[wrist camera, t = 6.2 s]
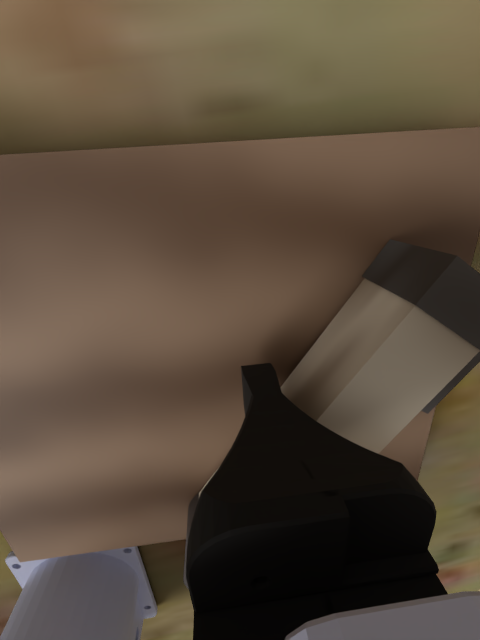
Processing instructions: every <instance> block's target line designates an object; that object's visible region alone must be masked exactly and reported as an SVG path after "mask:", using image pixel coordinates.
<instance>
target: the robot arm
mask: <svg viewBox="0 0 480 640" xmlns="http://www.w3.org/2000/svg"><path fill="white" fill-rule="evenodd" d="M241 374H242V388H243V401H244V411H245V419H244V421H243V424H242V426H241V429H240V431H239V433H238V435H237V437H236V439H235V441H234V443H233V445H232V447H231V449H230V450H229V452H228V454H227V455H226V457H225V459H224V460H223V462H222V464H221V465H220V467H219V468H218V470H217V471H216V473H215V474H214V475H213V477H212V478H211V479H210V481H209V482H208V483H207V485H206V486H205V487H204V489H203V490H202V491H201V494H200V497H199V500H198V503H197V506H196V509H195V513H194V516H193V520H192V524H191V528H190V533H189V538H188V544H187V560H186V579H187V583H188V588H189V592H190V596H191V600H192V604H193V609H194V630H193V640H480V591H476V592H459V593H453V594H448V593H447V592H446V590H445V588H444V587H443V585H442V583H441V582H440V580H439V578H438V577H437V575H436V574H437V573H438V571H439V569H438V566H437V564H436V562H435V560H434V559H433V557H432V556H431V554H430V552H429V551H428V545H429V542H430V539H431V536H432V532H433V529H434V526H435V520H436V509H435V506H434V503H433V502H432V500H431V499H430V498H429V496H428V495H427V494H426V492H425V491H424V489H423V488H422V487H421V485H420V484H419V483H418V481H417V480H416V479H415V478H414V477H413V475H412V474H411V473H410V472H409V471H408V470H407V469H406V467H405V466H404V465H403V464H402V463H400V462H398V461H395V460H393V459H390V458H388V457H385V456H383V455H380V454H378V453H375V452H373V451H370V450H368V449H366V448H364V447H362V446H360V445H358V444H356V443H353V442H351V441H349V440H347V439H346V438H344V437H342V436H340V435H338V434H336V433H335V432H333V431H331V430H330V429H328V428H326V427H325V426H323V425H321V424H320V423H318V422H317V421H315V420H314V419H312V418H311V417H310V416H308V415H307V414H306V413H304V412H303V411H302V410H301V409H299V408H298V407H297V406H296V405H295V404H293V403H292V402H291V401H290V400H289V399H288V398H287V397H286V396H285V395H284V394H283V393H282V391H281V388H280V384H279V381H278V377H277V374H276V371H275V369H274V367H273V366H272V364H271V363H264V364H255V365H245V366H241ZM5 561H6V563H7V565H8V567H9V568H10V570H11V571H12V573H13V574H14V576H15V578H16V579H17V581H18V582H19V584H20V585H21V587H22V588H23V590H22V592H21V594H20V596H19V599H18V601H17V603H16V605H15V607H14V609H13V611H12V613H11V615H10V618H9V620H8V622H7V624H6V626H5V628H4V630H3V632H2V634H1V636H0V640H140V638H141V631H142V625H143V619H145V618H151V617H154V616H156V614H157V605H156V602H155V599H154V596H153V593H152V590H151V587H150V583H149V580H148V577H147V574H146V571H145V568H144V565H143V562H142V559H141V556H140V553H139V550H138V547H137V546H134V547H127V548H120V549H112V550H105V551H98V552H91V553H84V554H77V555H69V556H62V557H55V558H48V559H41V560H34V561H26V562H19V560H18V559H17V557H16V555H15V554H14V552H13V551H12V552H10V553H9V554H8V556H7V558H6V560H5Z"/></svg>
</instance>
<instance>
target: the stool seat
mask: <svg viewBox="0 0 480 640" xmlns="http://www.w3.org/2000/svg"><path fill="white" fill-rule="evenodd" d="M479 232H480V127H469V128H452V129H435V130H417V131H400V132H383V133H366V134H349V135H331V136H314V137H297V138H280V139H263V140H245V141H228V142H211V143H194V144H177V145H159V146H142V147H125V148H108V149H91V150H73V151H56V152H39V153H22V154H5V155H0V531H1V532H2V534H3V536H4V537H5V539H6V541H7V542H8V544H9V545H10V547H11V549H12V550H13V552H14V554H15V555H16V557H17V559H18V560H19V562H26V561H34V560H41V559H48V558H55V557H62V556H69V555H77V554H84V553H91V552H98V551H105V550H112V549H120V548H127V547H134V546H141V545H148V544H155V543H163V542H170V541H177V540H184V539H186V533H187V519H188V507H189V503H190V501H191V500H192V499H193V497H194V496H196V495H197V494H198V493H199V492H200V491H201V490H202V488H203V487H204V486H205V484H206V483H207V482H208V481H209V479H210V478H211V477H212V475H213V474H214V473H215V471H216V470H217V469H218V468H219V466H220V465H221V464H222V462H223V460H224V459H225V457H226V455H227V454H228V452H229V450H230V449H231V447H232V445H233V443H234V441H235V439H236V437H237V435H238V433H239V431H240V429H241V426H242V424H243V421H244V419H245V411H244V401H243V388H242V374H241V366H245V365H255V364H264V363H271V364H272V366H273V367H274V369H275V371H276V374H277V377H278V381H279V384H280V387H281V386H282V385H283V383H284V382H285V381H286V380H287V378H288V377H289V376H290V374H291V373H292V372H293V370H294V369H295V368H296V367H297V365H298V364H299V363H300V361H301V360H302V359H303V358H304V356H305V355H306V354H307V352H308V351H309V350H310V348H311V347H312V346H313V345H314V343H315V342H316V341H317V339H318V338H319V337H320V336H321V334H322V333H323V332H324V330H325V329H326V328H327V326H328V325H329V324H330V323H331V321H332V320H333V319H334V317H335V316H336V315H337V314H338V312H339V311H340V310H341V308H342V307H343V306H344V304H345V303H346V302H347V301H348V299H349V298H350V297H351V295H352V294H353V293H354V292H355V290H356V289H357V288H358V286H359V285H360V284H361V282H362V281H363V280H364V279H365V278H364V277H362V275H363V274H364V272H365V271H366V270H367V269H368V267H369V266H370V265H371V263H372V262H373V261H374V259H375V258H376V257H377V255H378V254H379V253H380V252H381V250H382V249H383V248H384V246H385V245H386V244H387V242H388V241H389V240H390V239H391V240H395V241H399V242H403V243H408V244H412V245H416V246H420V247H424V248H428V249H432V250H436V251H440V252H444V253H448V254H453V255H457V256H459V257H460V258H461V259H462V260H463V261H465V262H466V263H467V264H468V265H470V266H471V264H472V260H473V256H474V252H475V248H476V244H477V240H478V236H479ZM479 362H480V351H479V352H478V353H477V354H476V355H475V356H474V357H473V358H472V360H471V361H470V362H469V363H468V364H467V365H466V366H465V367H464V368H463V369H462V370H461V371H460V372H459V373H458V374H457V375H456V376H455V377H454V378H453V379H452V380H451V381H450V382H449V383H448V384H447V385H446V386H445V387H444V388H443V389H442V390H441V391H440V392H439V393H438V394H437V395H436V396H435V397H434V398H433V399H432V400H431V401H430V402H429V403H428V404H427V405H426V406H425V407H424V408H423V409H422V410H421V411H420V412H419V413H418V414H417V415H416V416H415V417H414V418H413V419H412V420H411V421H410V422H409V423H408V424H407V425H406V426H405V427H404V428H403V429H402V430H401V431H400V432H399V433H398V434H397V435H396V436H395V437H394V438H393V439H392V440H391V441H390V442H389V444H388V445H387V446H386V447H385V448H384V449H383V450H382V451H381V452H380V453H379V454H380V455H383V456H385V457H388V458H390V459H393V460H395V461H398V462H400V463H402V464H403V465H404V466H405V467H406V469H407V470H408V471H409V472H410V473H411V474H412V475H413V477H414V478H415V479H416V480H418V476H419V472H420V468H421V464H422V460H423V456H424V452H425V448H426V444H427V440H428V436H429V432H430V428H431V424H432V420H433V416H434V412H435V408H436V405H437V404H438V403H439V402H440V401H441V400H442V399H443V398H444V397H445V396H446V395H447V394H448V393H449V392H450V391H451V390H452V389H453V388H454V387H455V386H456V385H457V384H458V383H459V382H460V381H461V380H462V379H463V378H464V377H465V376H466V375H467V374H468V373H469V372H470V371H471V370H472V369H473V368H474V367H475V366H476V365H477V364H478V363H479Z"/></svg>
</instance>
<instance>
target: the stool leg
mask: <svg viewBox="0 0 480 640" xmlns="http://www.w3.org/2000/svg"><path fill="white" fill-rule="evenodd" d="M362 277H364V278H365V279H364V280H363V281H362V282H361V284H360V285H359V286H358V288H357V289H356V290H355V292H354V293H353V294H352V295H351V297H350V298H349V299H348V301H347V302H346V303H345V304H344V306H343V307H342V308H341V310H340V311H339V312H338V314H337V315H336V316H335V317H334V319H333V320H332V321H331V323H330V324H329V325H328V326H327V328H326V329H325V330H324V332H323V333H322V334H321V336H320V337H319V338H318V339H317V341H316V342H315V343H314V345H313V346H312V347H311V348H310V350H309V351H308V352H307V354H306V355H305V356H304V358H303V359H302V360H301V361H300V363H299V364H298V365H297V367H296V368H295V369H294V370H293V372H292V373H291V374H290V376H289V377H288V378H287V380H286V381H285V382H284V383H283V385H282V386H281V387H280V388H281V391H282V393H283V394H284V395H285V396H286V397H287V398H288V399H289V400H290V401H291V402H292V403H293V404H295V405H296V406H297V407H298V408H299V409H301V410H302V411H303V412H304V413H306V414H307V415H308V416H310V417H311V418H312V419H314V420H315V421H317V422H318V423H320V424H321V425H323V426H325V427H326V428H328V429H330V430H331V431H333V432H335V433H336V434H338V435H340V436H342V437H344V438H346V439H347V440H349V441H351V442H353V443H356V444H358V445H360V446H362V447H364V448H366V449H368V450H370V451H373V452H375V453H378V454H379V453H380V452H381V451H382V450H383V449H384V448H385V447H386V446H387V445H388V444H389V442H390V441H391V440H392V439H393V438H394V437H395V436H396V435H397V434H398V433H399V432H400V431H401V430H402V429H403V428H404V427H405V426H406V425H407V424H408V423H409V422H410V421H411V420H412V419H413V418H414V417H415V416H416V415H417V414H418V413H419V412H420V411H421V410H422V409H423V408H424V407H425V406H426V405H427V404H428V403H429V402H430V401H431V400H432V399H433V398H434V397H435V396H436V395H437V394H438V393H439V392H440V391H441V390H442V389H443V388H444V387H445V386H446V385H447V384H448V383H449V382H450V381H451V380H452V379H453V378H454V377H455V376H456V375H457V374H458V373H459V372H460V371H461V370H462V369H463V368H464V367H465V366H466V365H467V364H468V363H469V362H470V361H471V360H472V358H473V357H474V356H475V355H476V354H477V353H478V352H479V351H480V274H479V273H478V272H477V271H476V270H475V269H473V268H472V267H471V266H470V265H468V264H467V263H466V262H465V261H463V260H462V259H461V258H460V257H459V256H457V255H453V254H448V253H444V252H440V251H436V250H432V249H428V248H424V247H420V246H416V245H412V244H408V243H403V242H399V241H395V240H391V239H390V240H389V241H388V242H387V244H386V245H385V246H384V248H383V249H382V250H381V252H380V253H379V254H378V255H377V257H376V258H375V259H374V261H373V262H372V263H371V265H370V266H369V267H368V269H367V270H366V271H365V272H364V274H363V275H362ZM219 467H220V466H219ZM217 470H218V469H217ZM217 470H216V471H217ZM216 471H215V473H216ZM215 473H214V474H215ZM214 474H213V475H214ZM213 475H212V477H213ZM212 477H211V478H212ZM211 478H210V479H211ZM210 479H209V481H210ZM209 481H208V482H209ZM208 482H207V483H208ZM207 483H206V484H205V486H206V485H207ZM205 486H204V487H205ZM204 487H203V488H202V490H203V489H204ZM202 490H201V491H202ZM201 491H200V492H199V493H198V494H197V495H196V496H194V497H193V499H192V500H191V501H190V503H189V507H188V519H187V533H186V548H185V562H184V576H183V580H184V584H185V586H186V587H187V588H188V583H187V579H186V560H187V544H188V538H189V533H190V528H191V524H192V520H193V516H194V513H195V509H196V506H197V503H198V500H199V497H200V494H201ZM188 589H189V588H188Z"/></svg>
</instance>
